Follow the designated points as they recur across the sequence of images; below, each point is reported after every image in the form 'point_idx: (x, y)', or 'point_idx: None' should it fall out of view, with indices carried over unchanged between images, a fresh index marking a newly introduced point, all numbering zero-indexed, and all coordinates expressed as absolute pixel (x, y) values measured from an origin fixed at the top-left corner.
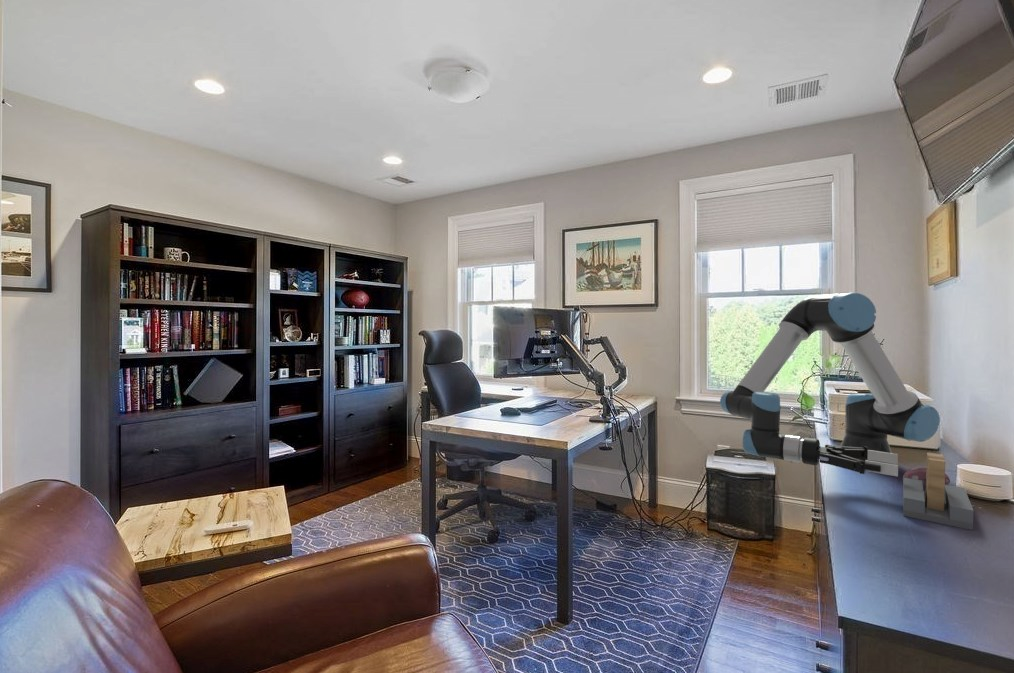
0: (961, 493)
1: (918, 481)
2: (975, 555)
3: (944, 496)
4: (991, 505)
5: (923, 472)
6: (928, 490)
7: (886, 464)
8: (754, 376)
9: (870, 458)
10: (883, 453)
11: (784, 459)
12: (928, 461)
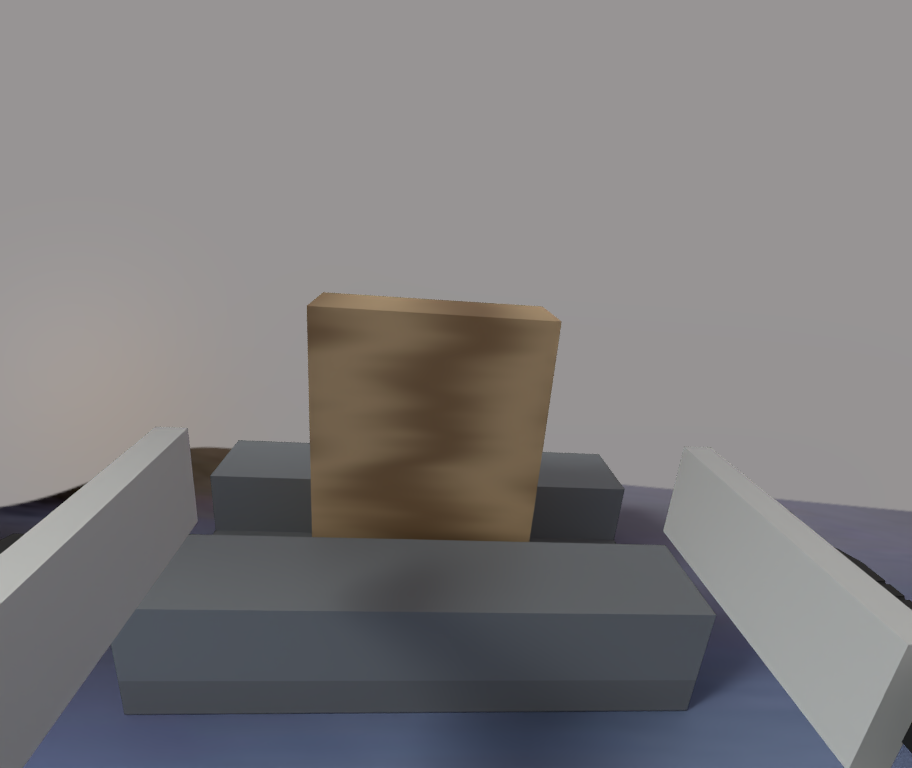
0: None
1: (198, 546)
2: (849, 538)
3: (257, 525)
4: (199, 463)
5: None
6: (533, 503)
7: (763, 497)
8: None
9: (26, 723)
10: (119, 506)
11: None
12: (546, 337)
